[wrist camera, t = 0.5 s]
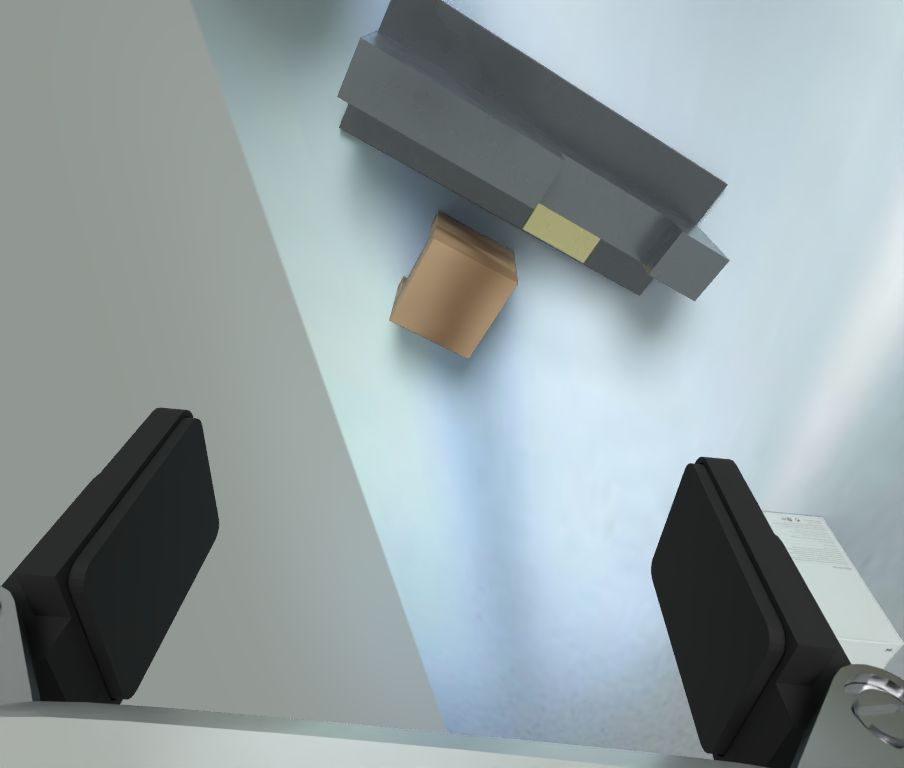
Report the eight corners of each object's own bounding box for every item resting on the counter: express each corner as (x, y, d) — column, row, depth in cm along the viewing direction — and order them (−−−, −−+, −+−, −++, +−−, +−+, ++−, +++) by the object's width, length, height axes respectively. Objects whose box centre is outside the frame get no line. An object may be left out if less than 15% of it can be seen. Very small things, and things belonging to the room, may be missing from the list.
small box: (756, 509, 55) (825, 636, 44) (823, 515, 55) (908, 644, 44) (725, 567, 60) (781, 696, 49) (788, 573, 60) (857, 702, 49)
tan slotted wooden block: (398, 286, 44) (389, 320, 40) (438, 210, 41) (433, 238, 36) (469, 321, 46) (468, 359, 41) (513, 251, 42) (518, 283, 38)
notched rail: (340, 125, 38) (316, 150, 32) (402, -25, 34) (386, -28, 28) (637, 292, 44) (662, 338, 38) (724, 182, 39) (767, 215, 33)
